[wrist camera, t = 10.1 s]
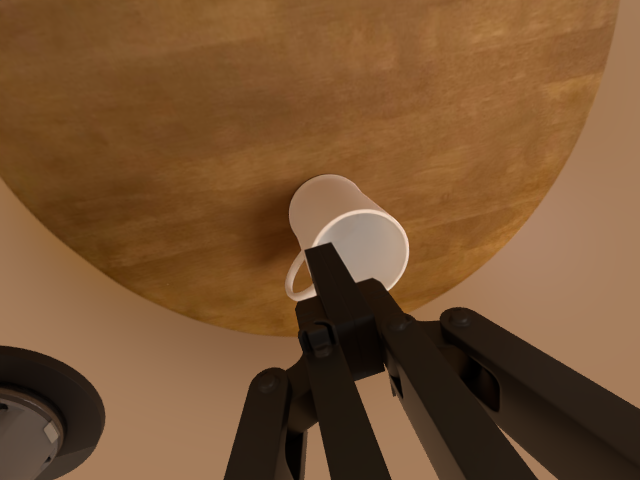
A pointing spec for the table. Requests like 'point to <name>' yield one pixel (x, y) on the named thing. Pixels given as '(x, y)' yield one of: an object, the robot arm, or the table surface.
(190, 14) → the table surface
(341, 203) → the mug
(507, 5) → the table surface
